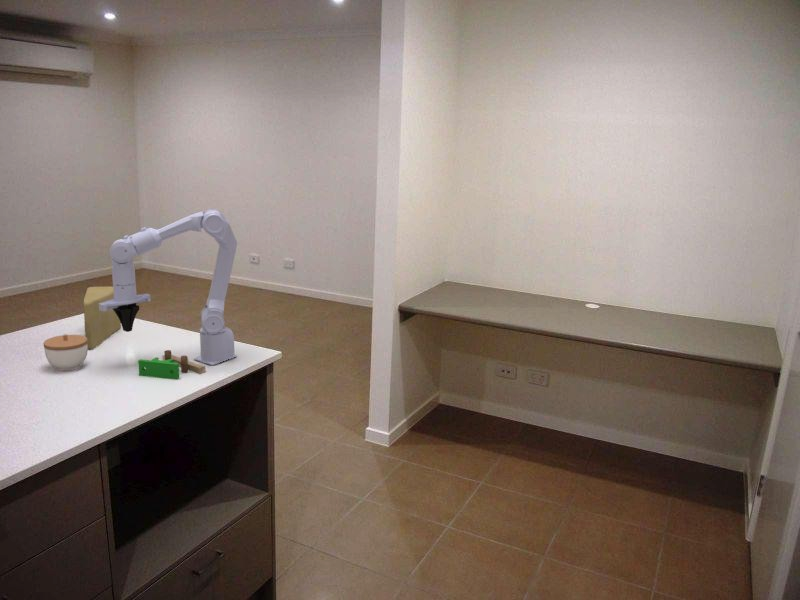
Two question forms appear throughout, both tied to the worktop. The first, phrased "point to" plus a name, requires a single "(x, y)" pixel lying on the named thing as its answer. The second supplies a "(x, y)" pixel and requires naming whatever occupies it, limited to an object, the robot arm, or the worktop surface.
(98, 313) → the cheese
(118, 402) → the worktop surface
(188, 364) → the peg rack
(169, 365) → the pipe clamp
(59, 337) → the lidded jar
